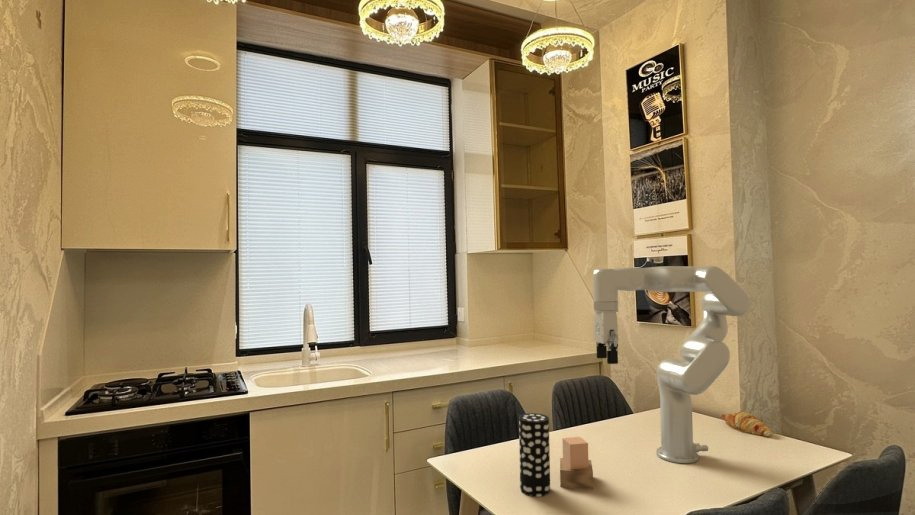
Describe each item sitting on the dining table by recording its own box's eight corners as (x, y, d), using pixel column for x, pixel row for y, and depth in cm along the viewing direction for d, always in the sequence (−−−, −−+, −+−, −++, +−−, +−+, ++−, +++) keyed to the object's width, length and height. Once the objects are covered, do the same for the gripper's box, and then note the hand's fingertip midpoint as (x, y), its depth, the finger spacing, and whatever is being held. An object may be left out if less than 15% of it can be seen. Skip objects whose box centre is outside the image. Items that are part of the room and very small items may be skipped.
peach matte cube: (562, 462, 142) (562, 438, 143) (580, 460, 143) (579, 436, 144) (570, 469, 137) (569, 444, 137) (588, 467, 138) (588, 443, 138)
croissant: (778, 447, 174) (785, 426, 176) (760, 437, 171) (767, 416, 173) (727, 428, 194) (734, 410, 196) (710, 419, 191) (717, 400, 193)
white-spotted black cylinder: (517, 484, 139) (516, 413, 139) (545, 482, 139) (544, 412, 140) (523, 497, 130) (522, 422, 131) (553, 495, 131) (552, 421, 132)
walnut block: (591, 477, 143) (591, 460, 144) (593, 490, 135) (592, 472, 135) (560, 474, 145) (560, 458, 146) (560, 487, 137) (560, 470, 137)
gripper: (585, 305, 163) (587, 356, 162) (603, 309, 146) (604, 366, 145) (607, 305, 163) (609, 355, 163) (628, 308, 146) (629, 365, 145)
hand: (607, 360), depth 154 cm, fingers open, 9 cm apart
